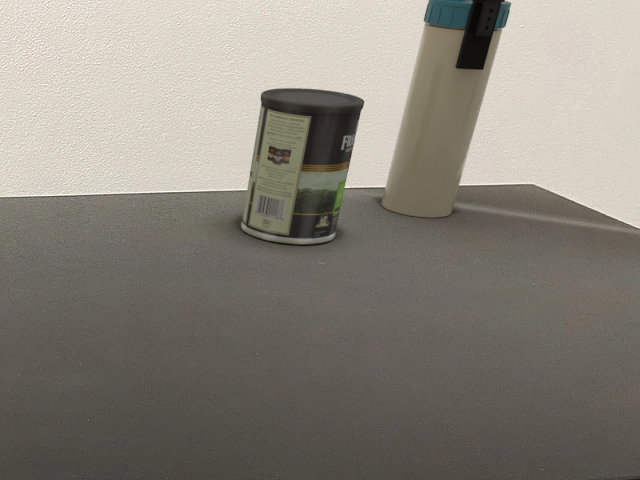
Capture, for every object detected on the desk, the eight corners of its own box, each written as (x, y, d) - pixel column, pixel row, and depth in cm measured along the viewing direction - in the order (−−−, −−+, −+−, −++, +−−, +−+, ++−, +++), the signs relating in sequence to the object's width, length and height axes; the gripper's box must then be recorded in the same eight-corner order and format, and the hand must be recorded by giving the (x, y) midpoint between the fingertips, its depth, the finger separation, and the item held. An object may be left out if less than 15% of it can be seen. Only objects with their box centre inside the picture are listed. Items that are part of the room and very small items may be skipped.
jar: (453, 205, 118) (509, 6, 106) (448, 221, 112) (507, 12, 100) (385, 195, 121) (432, 0, 109) (377, 211, 115) (426, 6, 103)
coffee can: (336, 224, 109) (365, 92, 102) (333, 250, 101) (364, 109, 94) (245, 213, 112) (266, 83, 105) (234, 238, 104) (256, 99, 96)
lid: (503, 23, 108) (510, -1, 106) (506, 31, 101) (513, 6, 100) (424, 17, 110) (430, -6, 109) (422, 25, 104) (427, 0, 102)
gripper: (442, -178, 105) (391, 48, 117) (524, -193, 87) (454, 76, 99) (512, -176, 105) (454, 50, 117) (608, -190, 87) (528, 79, 99)
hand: (454, 62), depth 108 cm, fingers closed on lid, 8 cm apart
